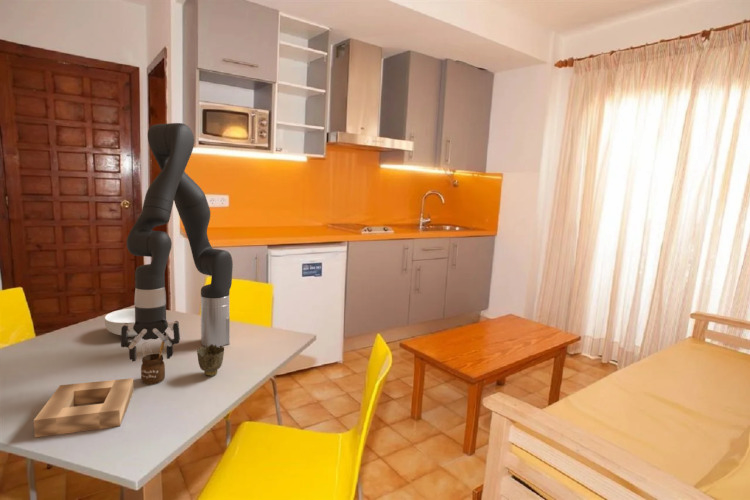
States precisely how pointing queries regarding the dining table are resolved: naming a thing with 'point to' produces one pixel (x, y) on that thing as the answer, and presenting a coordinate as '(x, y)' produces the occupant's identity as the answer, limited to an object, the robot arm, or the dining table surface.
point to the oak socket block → (84, 407)
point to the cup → (210, 359)
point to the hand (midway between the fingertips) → (151, 359)
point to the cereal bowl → (120, 321)
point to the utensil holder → (153, 367)
